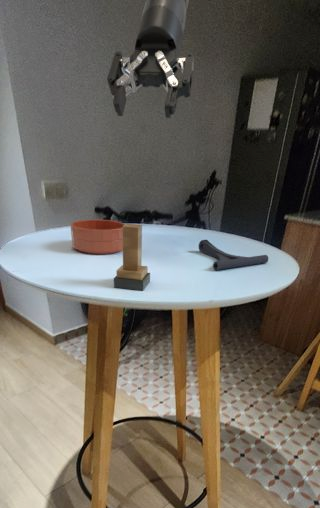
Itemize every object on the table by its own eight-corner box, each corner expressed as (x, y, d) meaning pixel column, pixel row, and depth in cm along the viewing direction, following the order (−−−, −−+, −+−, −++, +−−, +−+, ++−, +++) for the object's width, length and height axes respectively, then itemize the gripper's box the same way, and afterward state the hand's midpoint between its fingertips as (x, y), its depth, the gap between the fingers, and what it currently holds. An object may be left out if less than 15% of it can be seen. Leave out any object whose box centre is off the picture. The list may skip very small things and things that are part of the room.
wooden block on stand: (113, 287, 63) (112, 226, 57) (122, 278, 67) (121, 221, 61) (143, 290, 62) (144, 229, 56) (150, 281, 66) (151, 224, 61)
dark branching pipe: (223, 248, 90) (224, 236, 88) (267, 263, 80) (270, 250, 78) (175, 254, 83) (176, 241, 82) (217, 271, 73) (219, 257, 72)
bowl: (64, 251, 80) (61, 227, 77) (84, 240, 90) (82, 217, 87) (117, 257, 79) (116, 232, 76) (132, 245, 88) (132, 222, 85)
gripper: (117, 4, 61) (95, 89, 59) (201, 2, 58) (182, 91, 56) (127, 54, 68) (109, 130, 66) (203, 54, 65) (186, 134, 64)
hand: (142, 112), depth 61 cm, fingers open, 8 cm apart
